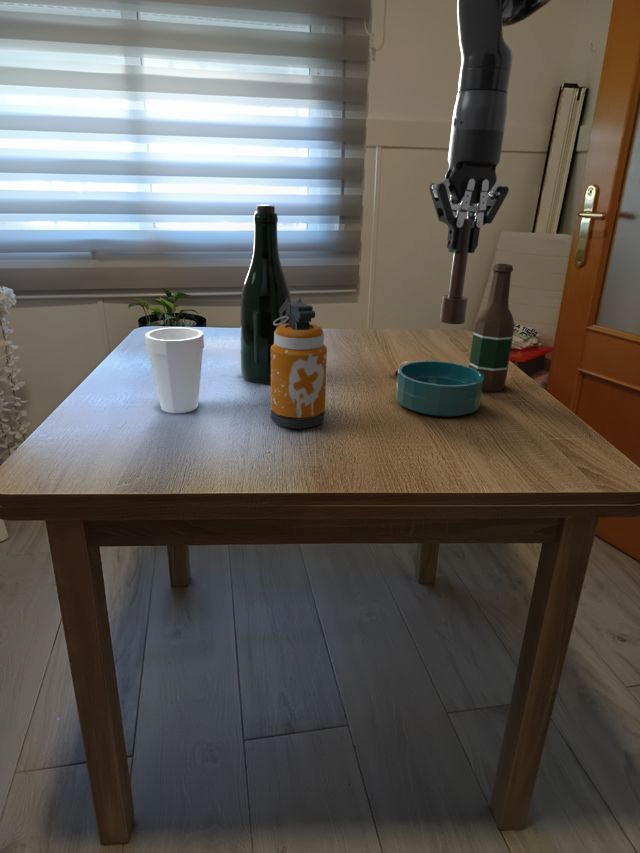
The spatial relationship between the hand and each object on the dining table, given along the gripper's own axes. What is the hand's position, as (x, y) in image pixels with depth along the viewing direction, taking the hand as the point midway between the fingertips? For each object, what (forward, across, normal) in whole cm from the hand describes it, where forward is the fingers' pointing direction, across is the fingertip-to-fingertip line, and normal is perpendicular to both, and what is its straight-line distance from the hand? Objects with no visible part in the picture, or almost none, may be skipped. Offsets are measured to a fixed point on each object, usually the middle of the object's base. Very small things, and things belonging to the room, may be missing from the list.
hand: (461, 251), depth 90 cm
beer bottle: (+28, +18, +10) cm, 35 cm away
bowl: (+28, +3, +5) cm, 28 cm away
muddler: (+11, 0, 0) cm, 11 cm away
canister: (+28, -25, +6) cm, 38 cm away
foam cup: (+28, -42, +19) cm, 54 cm away
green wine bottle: (+28, -22, +30) cm, 47 cm away
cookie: (+28, +8, +19) cm, 35 cm away
